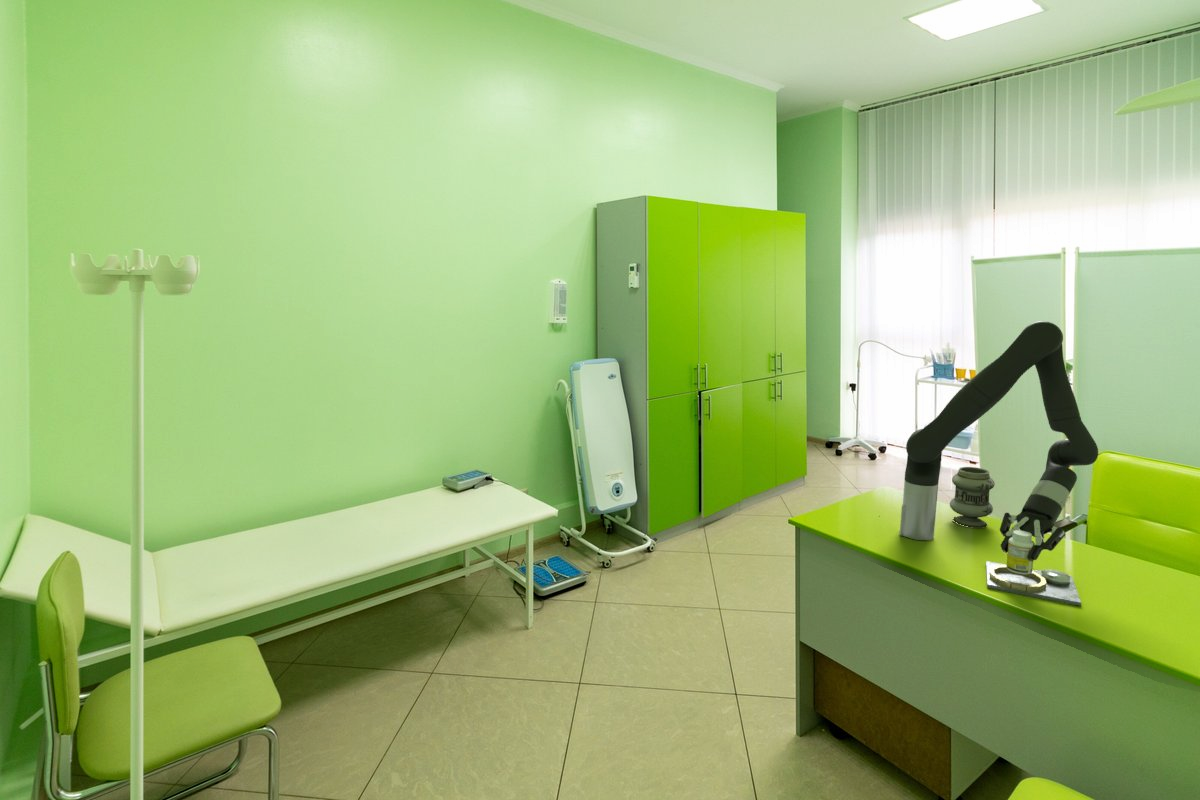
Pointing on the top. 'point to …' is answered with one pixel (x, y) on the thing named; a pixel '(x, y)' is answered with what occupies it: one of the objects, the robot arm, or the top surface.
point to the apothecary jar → (972, 496)
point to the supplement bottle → (1020, 552)
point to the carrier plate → (1033, 583)
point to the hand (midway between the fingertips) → (1016, 554)
